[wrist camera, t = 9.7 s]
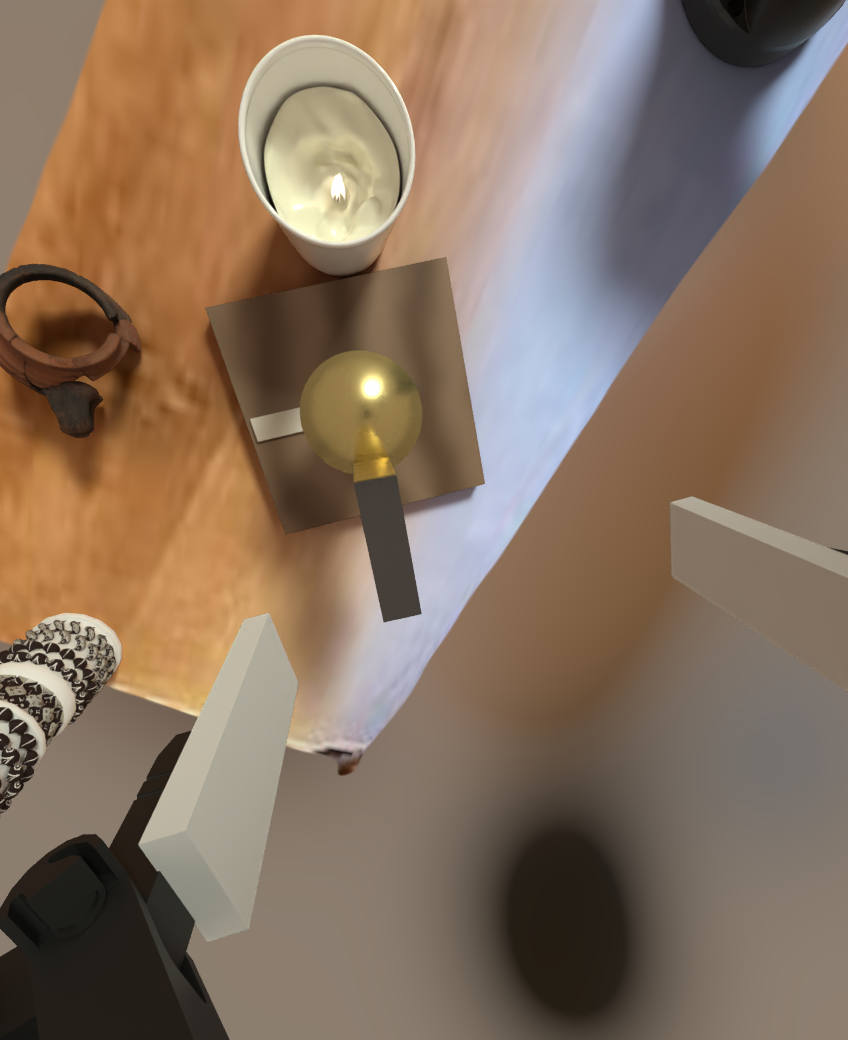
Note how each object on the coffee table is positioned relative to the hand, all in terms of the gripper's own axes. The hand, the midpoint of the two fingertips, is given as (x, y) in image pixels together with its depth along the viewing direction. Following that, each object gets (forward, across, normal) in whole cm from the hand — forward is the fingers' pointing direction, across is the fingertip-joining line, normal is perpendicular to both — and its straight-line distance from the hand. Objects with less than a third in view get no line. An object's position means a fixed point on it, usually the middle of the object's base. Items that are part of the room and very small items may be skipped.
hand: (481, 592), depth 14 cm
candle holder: (+31, 0, +19) cm, 36 cm away
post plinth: (+30, -3, +5) cm, 31 cm away
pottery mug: (+30, -24, +13) cm, 41 cm away
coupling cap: (+20, -3, +1) cm, 20 cm away
